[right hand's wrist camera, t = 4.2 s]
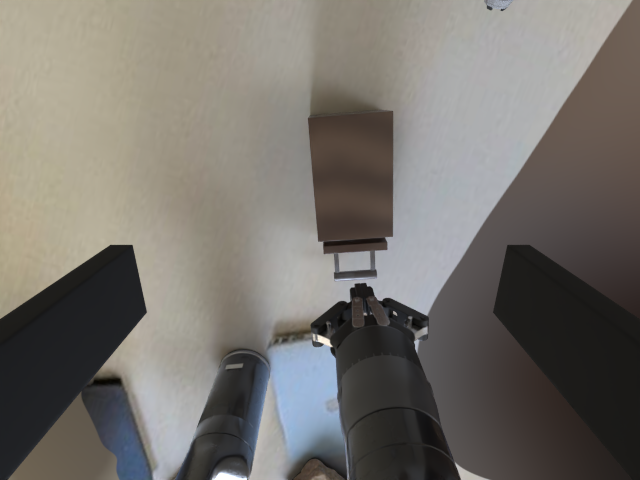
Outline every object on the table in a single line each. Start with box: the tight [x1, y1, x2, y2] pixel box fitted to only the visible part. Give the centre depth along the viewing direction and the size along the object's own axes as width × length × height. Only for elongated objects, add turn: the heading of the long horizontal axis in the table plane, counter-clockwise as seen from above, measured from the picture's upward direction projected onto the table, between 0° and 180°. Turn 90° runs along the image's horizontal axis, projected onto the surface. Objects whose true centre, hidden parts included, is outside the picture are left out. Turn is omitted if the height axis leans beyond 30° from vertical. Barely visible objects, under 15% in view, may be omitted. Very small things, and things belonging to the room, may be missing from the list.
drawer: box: [323, 237, 387, 281], centre depth 50 cm, size 20×9×6 cm, turn 4°
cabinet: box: [308, 110, 393, 242], centre depth 48 cm, size 16×10×8 cm, turn 4°
